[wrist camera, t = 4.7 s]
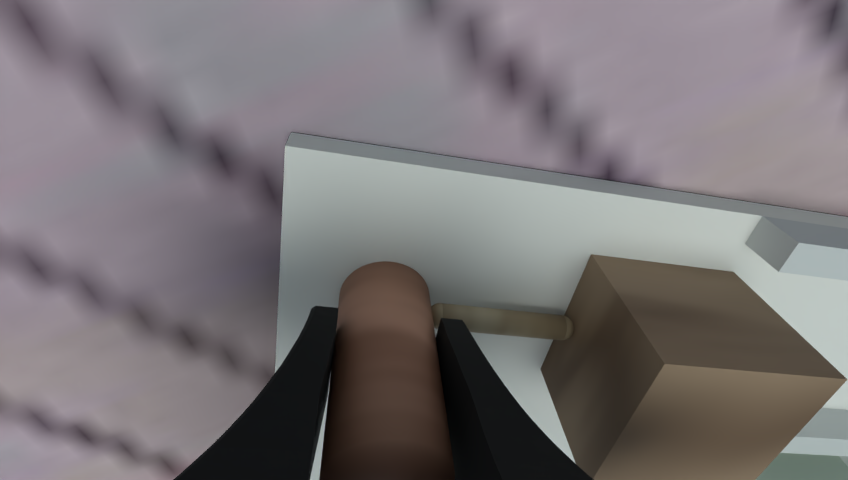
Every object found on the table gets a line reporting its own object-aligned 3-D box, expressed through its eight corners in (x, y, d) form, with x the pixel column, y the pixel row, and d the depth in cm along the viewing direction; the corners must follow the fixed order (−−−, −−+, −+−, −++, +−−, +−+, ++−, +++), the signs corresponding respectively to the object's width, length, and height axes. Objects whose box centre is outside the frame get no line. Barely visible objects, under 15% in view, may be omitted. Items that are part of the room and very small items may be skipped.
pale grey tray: (769, 507, 26) (804, 558, 24) (272, 492, 22) (261, 552, 20) (1031, 244, 17) (1121, 287, 15) (291, 132, 13) (274, 170, 11)
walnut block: (665, 378, 18) (775, 549, 13) (331, 352, 16) (310, 543, 11) (733, 271, 16) (903, 432, 11) (348, 224, 14) (330, 395, 8)
